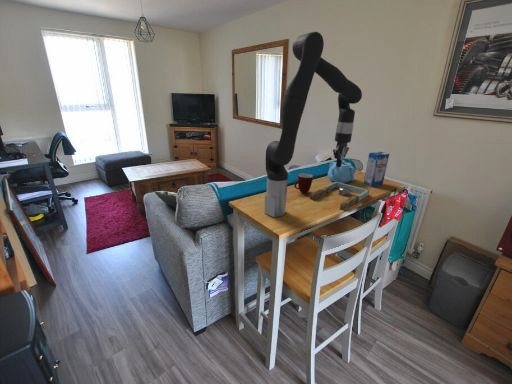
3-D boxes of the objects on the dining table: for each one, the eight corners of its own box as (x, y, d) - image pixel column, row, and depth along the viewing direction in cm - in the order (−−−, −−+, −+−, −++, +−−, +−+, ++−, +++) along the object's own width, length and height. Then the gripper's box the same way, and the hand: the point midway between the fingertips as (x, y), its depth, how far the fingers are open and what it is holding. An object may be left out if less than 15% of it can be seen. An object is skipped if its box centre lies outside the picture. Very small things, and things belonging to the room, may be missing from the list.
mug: (299, 196, 139) (301, 179, 135) (290, 191, 145) (291, 175, 142) (313, 193, 144) (315, 176, 140) (304, 188, 150) (306, 172, 147)
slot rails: (343, 210, 124) (344, 204, 122) (310, 199, 136) (310, 194, 135) (357, 201, 134) (358, 196, 133) (325, 191, 146) (325, 186, 145)
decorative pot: (327, 176, 175) (329, 156, 170) (351, 178, 171) (354, 158, 166) (327, 183, 160) (329, 162, 155) (354, 186, 157) (357, 164, 152)
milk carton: (374, 182, 165) (380, 151, 157) (382, 185, 160) (389, 153, 152) (363, 183, 161) (369, 152, 154) (371, 187, 156) (377, 155, 148)
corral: (358, 201, 134) (359, 196, 133) (324, 191, 147) (324, 186, 146) (368, 195, 143) (369, 190, 142) (335, 186, 156) (335, 181, 155)
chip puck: (346, 197, 140) (347, 191, 138) (336, 194, 144) (337, 188, 142) (351, 194, 144) (352, 188, 143) (341, 191, 148) (342, 185, 146)
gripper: (345, 133, 115) (339, 170, 121) (357, 131, 124) (351, 166, 130) (330, 131, 120) (325, 167, 126) (343, 130, 129) (337, 163, 135)
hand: (338, 166), depth 128 cm, fingers closed
